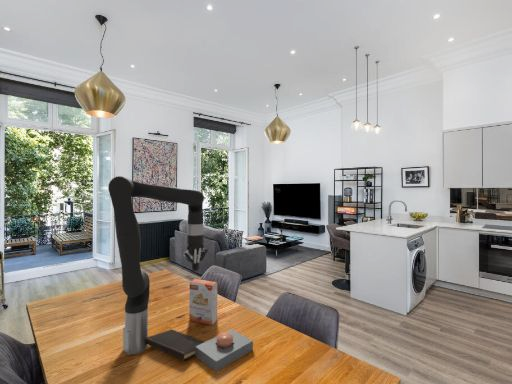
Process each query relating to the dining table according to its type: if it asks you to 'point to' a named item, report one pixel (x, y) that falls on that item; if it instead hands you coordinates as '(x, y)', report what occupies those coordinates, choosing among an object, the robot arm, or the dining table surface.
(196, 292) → the cracker box
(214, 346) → the mount
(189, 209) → the robot arm
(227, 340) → the knob
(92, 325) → the dining table surface
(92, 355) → the dining table surface
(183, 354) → the hardcover book
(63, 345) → the dining table surface
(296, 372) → the dining table surface
